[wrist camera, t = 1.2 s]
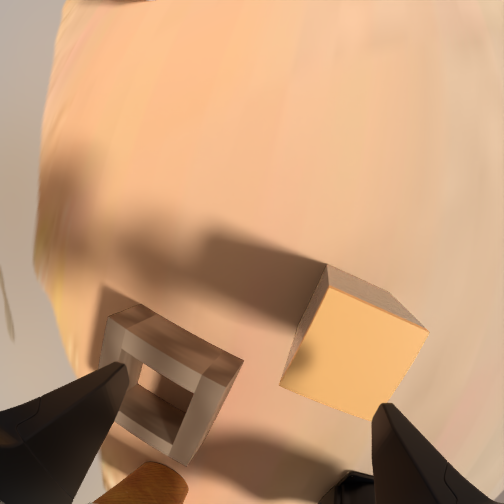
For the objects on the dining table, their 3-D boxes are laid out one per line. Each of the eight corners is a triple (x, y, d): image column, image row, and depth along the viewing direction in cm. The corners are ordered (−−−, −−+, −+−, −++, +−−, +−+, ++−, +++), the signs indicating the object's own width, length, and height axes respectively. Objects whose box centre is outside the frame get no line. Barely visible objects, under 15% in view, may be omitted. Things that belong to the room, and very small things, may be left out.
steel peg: (388, 292, 19) (429, 332, 11) (357, 352, 20) (372, 421, 11) (326, 263, 20) (329, 287, 12) (297, 326, 21) (278, 385, 12)
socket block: (244, 360, 22) (226, 387, 18) (205, 438, 24) (186, 466, 19) (140, 304, 24) (108, 316, 20) (120, 386, 26) (93, 405, 21)
